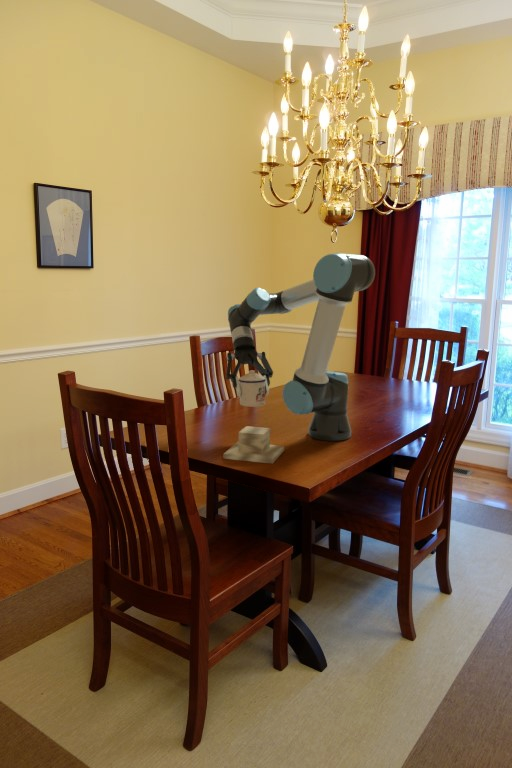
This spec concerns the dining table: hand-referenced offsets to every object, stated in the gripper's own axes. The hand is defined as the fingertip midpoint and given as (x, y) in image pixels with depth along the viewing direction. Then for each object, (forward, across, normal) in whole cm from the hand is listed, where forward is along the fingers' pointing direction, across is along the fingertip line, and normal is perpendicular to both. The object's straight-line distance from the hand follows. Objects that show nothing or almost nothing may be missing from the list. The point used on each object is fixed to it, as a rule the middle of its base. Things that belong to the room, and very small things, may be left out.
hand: (253, 393), depth 196 cm
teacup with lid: (+1, -1, -5) cm, 5 cm away
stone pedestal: (+22, +3, -2) cm, 22 cm away
